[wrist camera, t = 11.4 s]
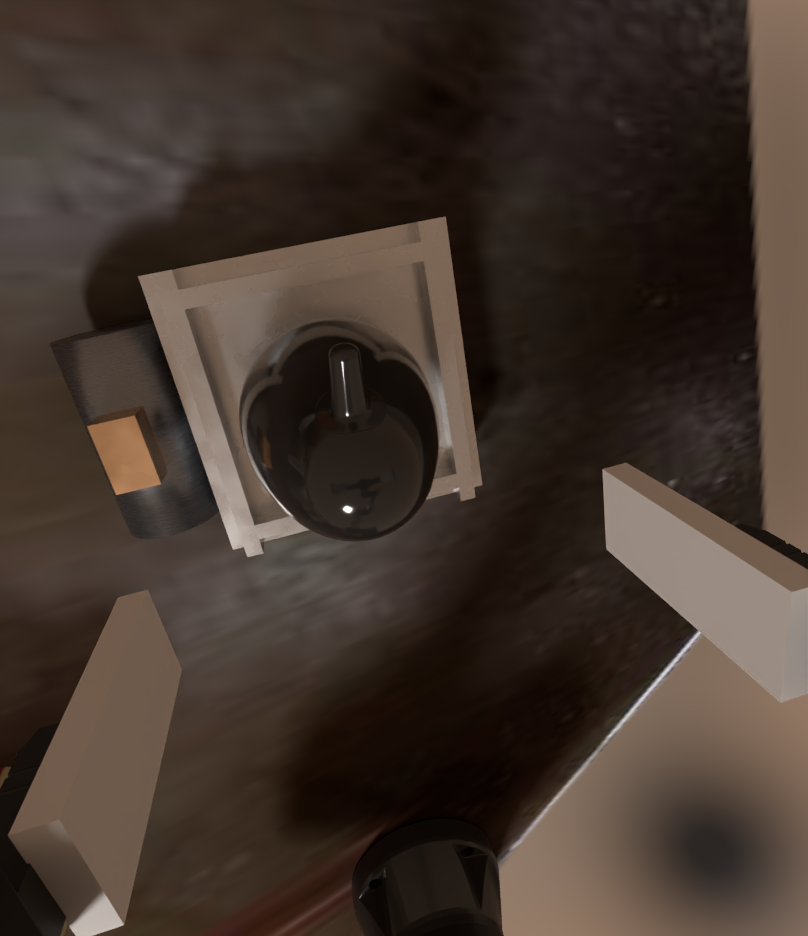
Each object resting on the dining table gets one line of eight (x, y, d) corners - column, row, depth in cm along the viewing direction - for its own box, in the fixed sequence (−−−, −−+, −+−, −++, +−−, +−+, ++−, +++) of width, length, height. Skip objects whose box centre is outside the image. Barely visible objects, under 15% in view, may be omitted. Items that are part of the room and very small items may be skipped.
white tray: (460, 460, 43) (498, 503, 36) (153, 537, 40) (126, 601, 33) (424, 220, 36) (461, 213, 29) (53, 292, 33) (-9, 304, 26)
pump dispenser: (403, 295, 33) (496, 328, 19) (420, 459, 37) (508, 587, 23) (224, 318, 31) (184, 373, 17) (262, 488, 35) (254, 643, 21)
